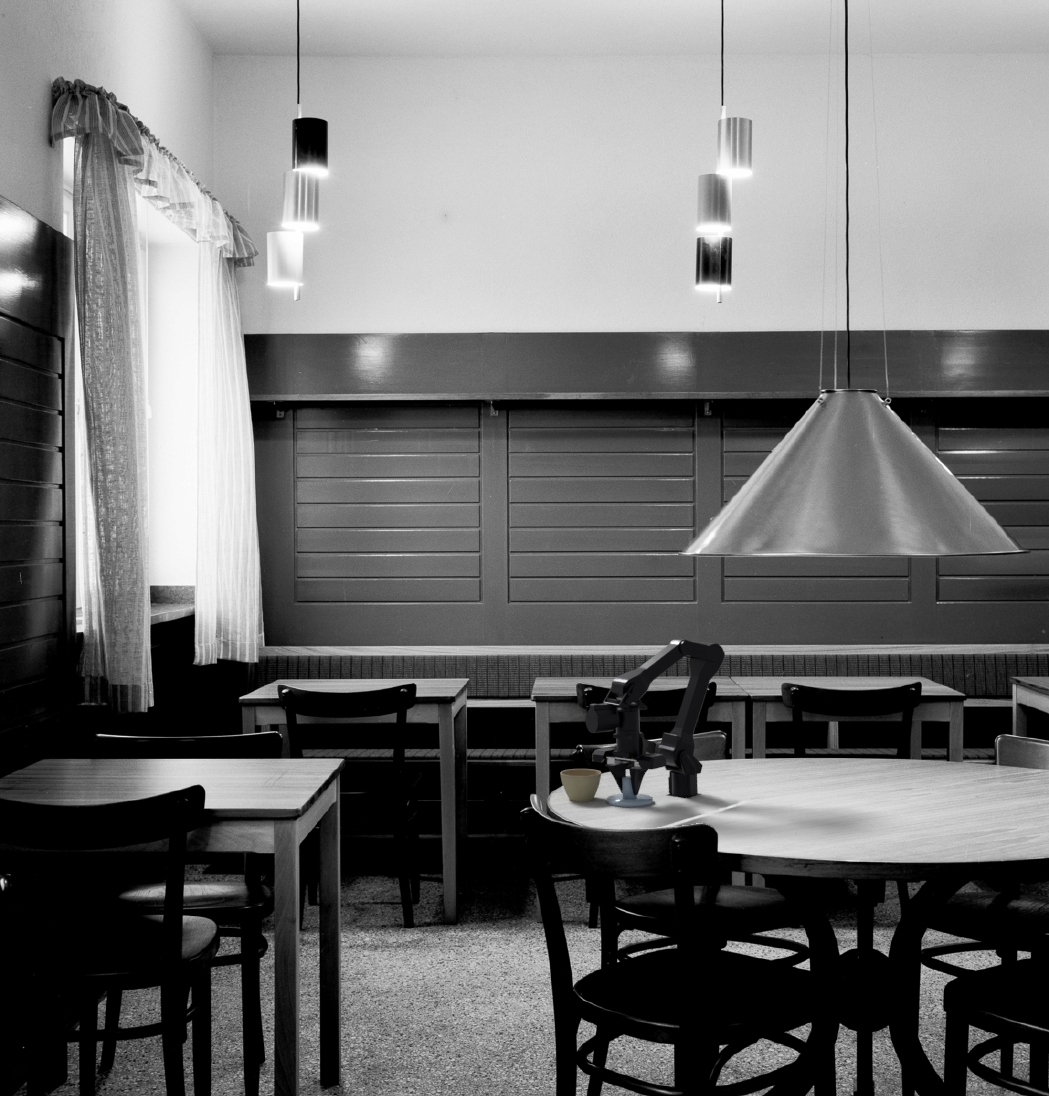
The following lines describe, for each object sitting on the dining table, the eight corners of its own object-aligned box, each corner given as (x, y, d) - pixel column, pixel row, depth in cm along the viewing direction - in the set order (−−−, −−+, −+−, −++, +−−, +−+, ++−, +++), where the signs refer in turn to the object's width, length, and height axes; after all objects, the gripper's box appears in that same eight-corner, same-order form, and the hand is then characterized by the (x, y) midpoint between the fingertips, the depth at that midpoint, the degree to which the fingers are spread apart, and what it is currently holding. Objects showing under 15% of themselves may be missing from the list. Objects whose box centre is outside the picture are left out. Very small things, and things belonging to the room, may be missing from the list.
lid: (662, 801, 276) (661, 776, 276) (633, 809, 268) (632, 783, 268) (626, 795, 283) (625, 771, 283) (597, 803, 275) (597, 778, 275)
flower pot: (586, 807, 274) (586, 777, 274) (553, 802, 280) (552, 773, 280) (609, 799, 282) (608, 770, 282) (576, 795, 288) (575, 767, 288)
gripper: (679, 728, 275) (681, 793, 275) (619, 721, 288) (620, 783, 288) (650, 734, 267) (652, 801, 267) (590, 727, 280) (591, 791, 280)
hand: (629, 793), depth 275 cm, fingers closed on lid, 3 cm apart
